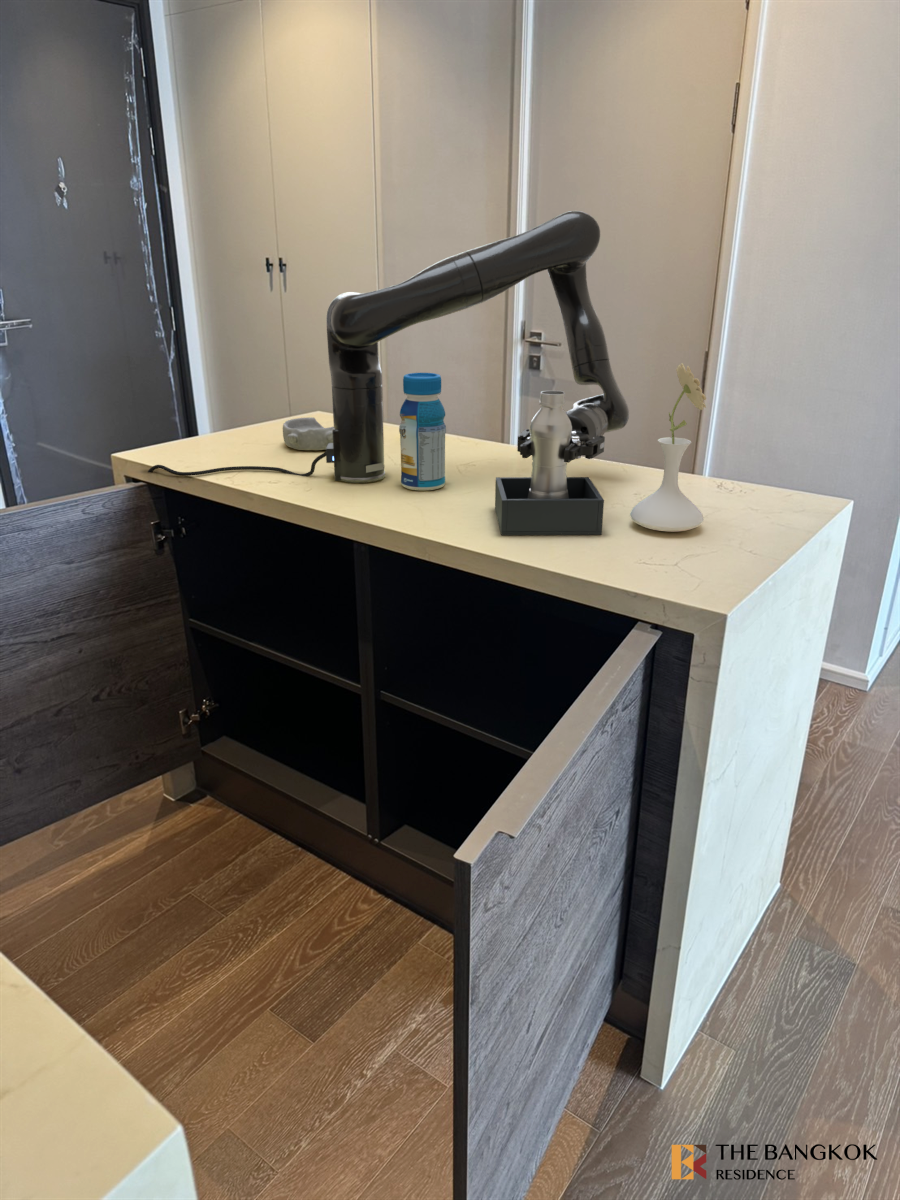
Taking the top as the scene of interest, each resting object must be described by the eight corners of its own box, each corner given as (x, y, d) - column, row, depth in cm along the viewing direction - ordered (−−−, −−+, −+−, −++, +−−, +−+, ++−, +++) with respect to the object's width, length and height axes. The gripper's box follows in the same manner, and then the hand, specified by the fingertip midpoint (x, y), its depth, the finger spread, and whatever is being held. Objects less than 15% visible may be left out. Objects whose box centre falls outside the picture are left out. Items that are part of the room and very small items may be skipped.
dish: (294, 437, 197) (292, 415, 195) (353, 439, 195) (352, 417, 193) (273, 452, 183) (271, 428, 181) (336, 454, 182) (335, 430, 180)
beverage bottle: (439, 493, 155) (439, 379, 147) (394, 490, 156) (391, 377, 149) (450, 481, 162) (451, 372, 154) (407, 478, 164) (406, 370, 156)
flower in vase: (701, 541, 131) (722, 372, 121) (625, 534, 134) (640, 369, 124) (702, 516, 142) (722, 360, 133) (632, 510, 145) (646, 357, 136)
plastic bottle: (570, 524, 136) (577, 396, 128) (527, 523, 137) (532, 396, 128) (566, 511, 142) (572, 388, 134) (525, 511, 142) (529, 388, 134)
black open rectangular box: (501, 535, 133) (502, 500, 131) (494, 509, 146) (495, 477, 143) (601, 534, 133) (604, 500, 131) (586, 509, 146) (588, 476, 144)
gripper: (535, 406, 148) (501, 425, 134) (618, 413, 143) (592, 433, 129) (534, 450, 151) (500, 472, 137) (615, 457, 146) (589, 482, 132)
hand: (545, 453), depth 133 cm, fingers closed on plastic bottle, 6 cm apart
